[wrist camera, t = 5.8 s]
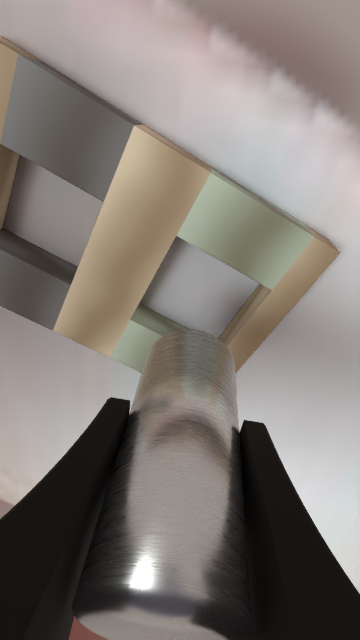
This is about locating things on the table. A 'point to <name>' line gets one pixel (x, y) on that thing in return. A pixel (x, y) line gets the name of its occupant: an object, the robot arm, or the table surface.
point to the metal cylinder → (173, 507)
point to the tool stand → (135, 221)
